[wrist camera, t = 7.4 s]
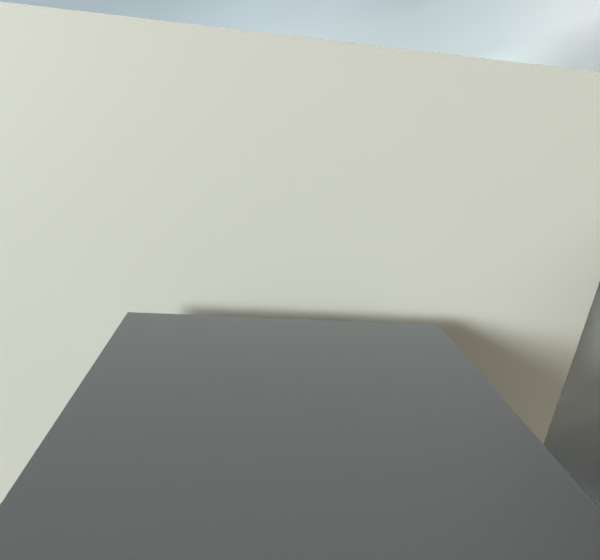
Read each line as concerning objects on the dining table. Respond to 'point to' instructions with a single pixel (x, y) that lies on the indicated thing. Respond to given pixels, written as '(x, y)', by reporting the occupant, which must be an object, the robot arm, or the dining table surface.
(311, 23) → the dining table surface
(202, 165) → the base block
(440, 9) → the dining table surface
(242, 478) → the grey cube
